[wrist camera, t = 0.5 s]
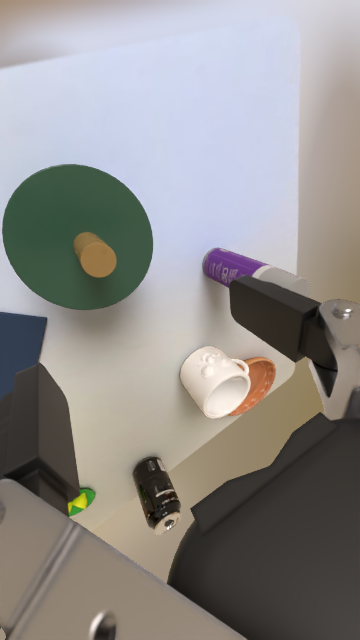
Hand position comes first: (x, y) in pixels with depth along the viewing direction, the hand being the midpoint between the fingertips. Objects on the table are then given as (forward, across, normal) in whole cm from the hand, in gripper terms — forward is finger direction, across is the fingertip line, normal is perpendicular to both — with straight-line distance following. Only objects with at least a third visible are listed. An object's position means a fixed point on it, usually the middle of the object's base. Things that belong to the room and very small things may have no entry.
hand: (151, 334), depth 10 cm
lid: (+14, 0, -1) cm, 14 cm away
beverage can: (+22, +6, +49) cm, 54 cm away
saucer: (+22, -22, +40) cm, 50 cm away
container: (+22, -18, +9) cm, 29 cm away
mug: (+22, -13, +28) cm, 38 cm away
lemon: (+22, +20, +46) cm, 55 cm away
